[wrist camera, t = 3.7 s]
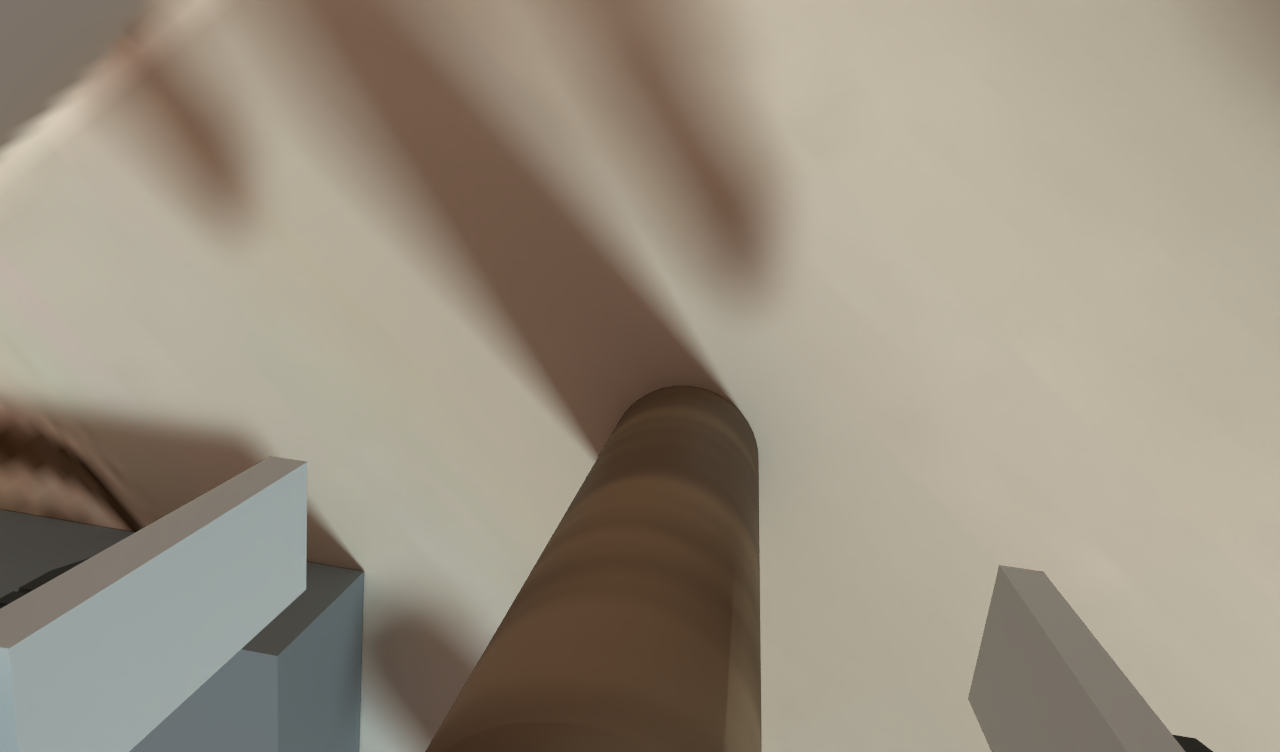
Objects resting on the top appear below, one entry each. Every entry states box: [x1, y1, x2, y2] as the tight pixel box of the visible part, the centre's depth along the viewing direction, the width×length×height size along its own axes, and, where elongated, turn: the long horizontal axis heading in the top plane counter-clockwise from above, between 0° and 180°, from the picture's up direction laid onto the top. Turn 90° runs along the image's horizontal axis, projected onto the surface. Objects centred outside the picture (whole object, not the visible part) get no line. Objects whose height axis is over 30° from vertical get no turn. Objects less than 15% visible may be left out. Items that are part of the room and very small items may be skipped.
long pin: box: [426, 386, 761, 752], centre depth 15 cm, size 4×4×14 cm
